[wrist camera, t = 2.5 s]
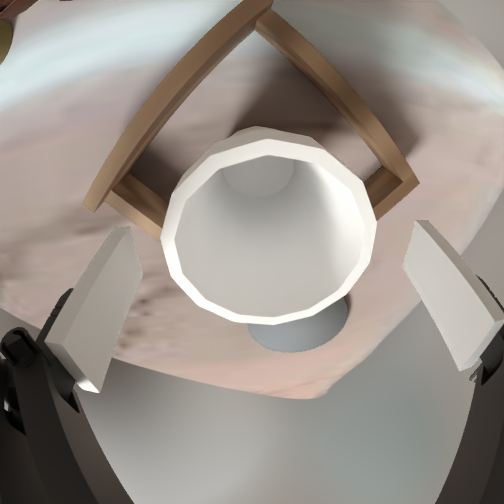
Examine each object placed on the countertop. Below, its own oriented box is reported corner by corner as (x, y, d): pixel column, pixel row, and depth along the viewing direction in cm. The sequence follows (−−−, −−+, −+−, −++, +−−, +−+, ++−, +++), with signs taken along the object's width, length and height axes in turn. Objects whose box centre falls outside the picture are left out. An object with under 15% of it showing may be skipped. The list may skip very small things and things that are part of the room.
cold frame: (112, 175, 23) (81, 203, 18) (254, 11, 15) (257, -11, 11) (259, 284, 30) (262, 326, 25) (398, 167, 23) (432, 193, 18)
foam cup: (263, 84, 19) (288, 87, 8) (334, 167, 23) (406, 252, 12) (178, 162, 23) (122, 249, 12) (253, 231, 27) (260, 346, 16)
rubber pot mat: (227, 321, 33) (227, 326, 33) (304, 261, 29) (306, 266, 28) (292, 357, 38) (293, 362, 38) (363, 312, 34) (365, 317, 33)
